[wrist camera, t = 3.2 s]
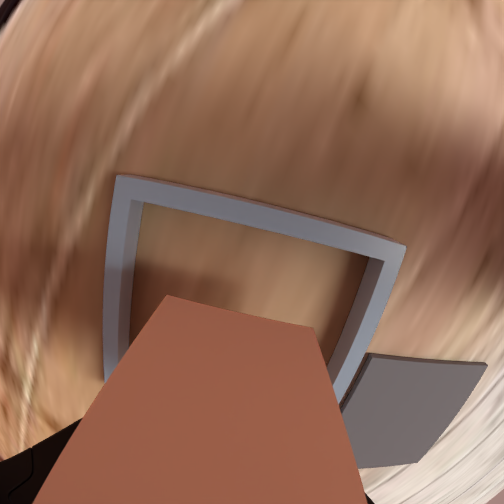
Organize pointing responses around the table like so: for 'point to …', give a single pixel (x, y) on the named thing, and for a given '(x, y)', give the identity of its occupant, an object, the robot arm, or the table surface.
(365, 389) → the place mat
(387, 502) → the table surface
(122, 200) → the blue-grey square frame
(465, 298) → the table surface
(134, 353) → the block
